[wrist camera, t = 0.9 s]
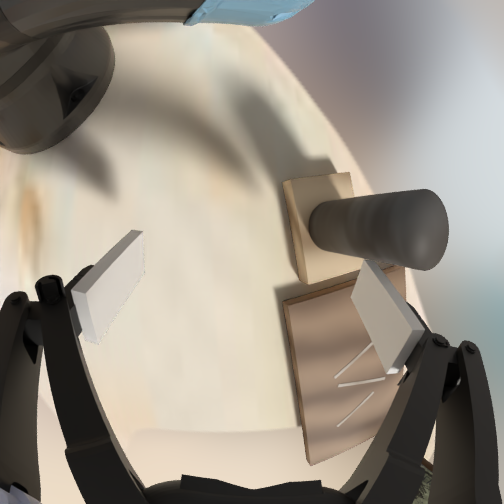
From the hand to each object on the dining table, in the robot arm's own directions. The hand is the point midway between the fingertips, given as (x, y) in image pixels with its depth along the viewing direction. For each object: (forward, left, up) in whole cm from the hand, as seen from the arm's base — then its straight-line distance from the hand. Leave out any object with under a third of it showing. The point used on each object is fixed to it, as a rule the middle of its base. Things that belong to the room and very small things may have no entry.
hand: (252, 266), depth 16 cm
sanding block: (-1, +9, -8) cm, 12 cm away
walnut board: (+17, +11, -8) cm, 22 cm away
